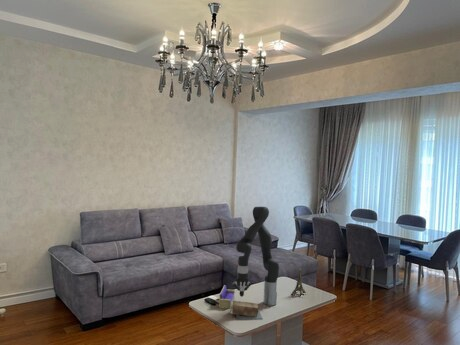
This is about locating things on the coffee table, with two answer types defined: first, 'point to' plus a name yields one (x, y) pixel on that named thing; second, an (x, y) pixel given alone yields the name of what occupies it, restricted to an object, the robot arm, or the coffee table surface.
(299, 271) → the eiffel tower
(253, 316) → the mat
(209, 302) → the coffee table surface
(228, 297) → the toy sofa
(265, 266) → the robot arm
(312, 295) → the coffee table surface
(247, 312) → the walnut block
